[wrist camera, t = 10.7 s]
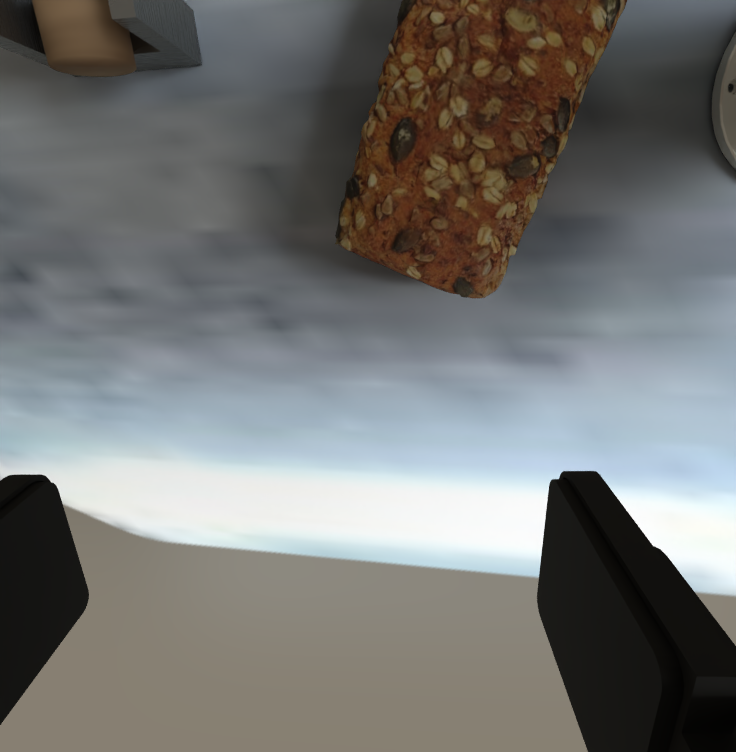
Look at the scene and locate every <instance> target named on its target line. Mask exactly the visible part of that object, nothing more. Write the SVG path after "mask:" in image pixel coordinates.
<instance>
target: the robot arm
mask: <svg viewBox="0 0 736 752" xmlns="http://www.w3.org/2000/svg"><path fill="white" fill-rule="evenodd" d="M728 86H729V91H728ZM712 121H713V127H714V133H715V136H716V139H717V141H718V144H719V146H720V149H721V151H722V153H723V154H724V156H725V157H726V159H727V160H728V161H729V163H730V164H731V165H732V166H733V167H734V168H735V169H736V32H735V34H734V36H733V37H732V39H731V41H730V43H729V45H728V47H727V48H726V50H725V52H724V55H723V57H722V60H721V63H720V66H719V68H718V71H717V74H716V78H715V84H714V89H713V94H712ZM88 599H89V592H88V588H87V584H86V581H85V577H84V574H83V571H82V567H81V564H80V561H79V557H78V554H77V551H76V547H75V544H74V541H73V538H72V534H71V531H70V528H69V524H68V521H67V518H66V514H65V511H64V508H63V504H62V501H61V498H60V494H59V491H58V488H57V486H56V485H55V484H54V483H51V482H50V480H49V479H48V478H47V477H46V476H44V475H9V476H7V477H5V478H3V479H2V480H1V481H0V725H1V723H2V722H3V721H4V719H5V718H6V717H7V715H8V714H9V712H10V711H11V710H12V708H13V707H14V706H15V704H16V703H17V702H18V700H19V699H20V698H21V696H22V695H23V693H24V692H25V690H26V689H27V688H28V687H29V685H30V684H31V683H32V681H33V680H34V678H35V677H36V676H37V674H38V673H39V672H40V670H41V669H42V668H43V666H44V665H45V664H46V662H47V661H48V660H49V658H50V657H51V656H52V654H53V653H54V651H55V650H56V649H57V647H58V646H59V645H60V643H61V642H62V641H63V639H64V638H65V637H66V635H67V634H68V632H69V631H70V630H71V628H72V627H73V626H74V624H75V623H76V622H77V620H78V619H79V618H80V616H81V615H82V613H83V612H84V610H85V609H86V606H87V603H88ZM537 603H538V609H539V614H540V617H541V620H542V623H543V626H544V628H545V631H546V634H547V637H548V640H549V642H550V646H551V648H552V651H553V654H554V657H555V660H556V662H557V665H558V668H559V671H560V674H561V677H562V679H563V682H564V685H565V688H566V690H567V693H568V696H569V699H570V702H571V705H572V708H573V711H574V713H575V716H576V719H577V722H578V725H579V727H580V730H581V733H582V736H583V739H584V742H585V744H586V747H587V750H588V752H736V646H735V644H734V643H733V642H732V641H731V639H730V638H729V637H728V635H727V634H726V633H725V631H724V630H723V629H722V628H721V626H720V625H719V624H718V622H717V621H716V620H715V618H714V617H713V616H712V614H711V613H710V612H709V611H708V609H707V608H706V607H705V605H704V604H703V603H702V601H701V600H700V599H699V597H698V596H697V595H696V593H695V592H694V591H693V590H692V588H691V587H690V586H689V584H688V583H687V582H686V580H685V579H684V578H683V576H682V575H681V574H680V573H679V571H678V570H677V569H676V567H675V566H674V565H673V563H672V562H671V561H670V559H669V558H668V557H667V556H666V555H665V554H664V553H663V552H662V551H661V550H660V549H659V548H656V547H654V546H653V545H652V544H651V543H650V541H649V540H648V539H647V537H646V536H645V535H644V533H643V532H642V531H641V529H640V528H639V527H638V525H637V524H636V523H635V521H634V520H633V519H632V517H631V516H630V515H629V513H628V512H627V511H626V509H625V508H624V507H623V505H622V504H621V503H620V501H619V500H618V499H617V497H616V496H615V495H614V493H613V492H612V491H611V489H610V488H609V486H608V485H607V484H606V482H605V481H604V480H603V478H602V477H601V476H600V475H599V474H598V473H597V472H595V471H563V472H562V473H561V475H560V478H559V479H553V480H551V482H550V485H549V493H548V502H547V511H546V520H545V529H544V538H543V547H542V556H541V565H540V574H539V583H538V592H537Z"/></svg>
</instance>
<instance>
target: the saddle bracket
mask: <svg viewBox="0 0 736 752" xmlns="http://www.w3.org/2000/svg"><path fill="white" fill-rule="evenodd" d="M108 3H109V8H110V12H111V17H112V20H114V21H115V22H117V23H118V24H120V25H121V26H123V27H124V28H126V29H127V30H129V33H130V38H131V43H132V48H133V53H134V58H135V63H136V70H135V71H143V70H154V69H165V68H176V67H187V66H198V65H202V62H201V56H200V50H199V44H198V37H197V31H196V25H195V19H194V13H193V10H192V9H191V8H190V7H189V6H188V5H187V4H186V3H185V2H184V1H183V0H108ZM0 47H2V48H4V49H7V50H10V51H12V52H15V53H17V54H20V55H22V56H25V57H27V58H30V59H32V60H35V61H37V62H40V63H42V64H45V65H47V66H49V65H48V62H47V58H46V54H45V50H44V46H43V42H42V38H41V34H40V30H39V26H38V22H37V18H36V14H35V10H34V7H33V3H32V0H0ZM70 75H73V74H70ZM73 76H75V77H77V76H80V75H73Z"/></svg>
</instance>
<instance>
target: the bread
mask: <svg viewBox="0 0 736 752" xmlns="http://www.w3.org/2000/svg"><path fill="white" fill-rule="evenodd" d="M626 2H627V0H403V1H402V3H401V7H400V10H399V14H398V25H397V29H396V32H395V34H394V37H393V39H392V40H391V42H390V43H389V47H388V49H389V54H388V56H387V58H386V59H385V61H384V63H383V69H382V73H381V75H380V78H379V81H378V87H379V94H378V96H377V101H376V102H375V103H374V104H373V105H372V107H371V109H370V111H369V119H368V121H367V122H366V123H365V124H364V126H363V128H362V131H361V135H362V137H361V141H360V145H359V150H358V153H357V155H356V160H355V167H354V172H353V175H352V177H351V178H350V179H349V180H348V181H347V184H346V192H345V198H344V200H343V201H342V202H341V207H340V212H339V222H338V227H337V231H336V238H337V240H336V243H335V244H339V245H340V246H342V247H343V248H344V249H346V250H349V251H351V252H354V253H356V254H358V255H360V256H362V257H365V258H368V259H370V260H371V261H374V262H377V263H380V264H382V265H384V266H386V267H388V268H390V269H392V270H394V271H397V272H399V273H401V274H403V275H405V276H408V277H411V278H414V279H416V280H419V281H422V282H424V283H426V284H428V285H430V286H432V287H435V288H437V289H440V290H443V291H445V292H449V293H453V294H459V295H460V296H461V297H470V298H485V297H486V296H488V295H489V294H491V293H493V292H494V291H496V289H497V288H498V287H499V285H500V284H501V282H502V280H503V277H504V275H505V273H506V269H507V266H508V261H509V257H510V256H511V255H515V253H516V249H517V246H518V243H519V241H520V239H521V236H522V234H523V231H524V230H525V228H526V227H527V225H528V223H529V222H530V220H531V218H532V216H533V214H534V212H535V209H536V207H537V200H538V199H540V198H542V195H543V192H544V190H545V187H546V184H547V182H548V174H549V173H550V172H551V171H552V170H553V168H554V166H555V165H556V163H557V158H558V156H559V155H560V153H561V152H562V151H563V149H564V148H565V145H566V142H567V139H568V131H569V130H570V129H571V128H572V124H573V121H574V117H575V114H576V111H577V109H578V107H579V105H580V103H581V101H582V98H583V95H584V92H585V89H586V86H587V83H588V81H589V78H590V76H591V75H592V73H593V71H594V70H595V68H596V65H597V63H598V61H599V59H600V58H601V56H602V54H603V52H604V50H605V48H606V46H607V44H608V42H609V40H610V38H611V35H612V33H613V30H614V28H615V26H616V23H617V21H618V18H619V17H620V15H621V13H622V12H623V10H624V8H625V5H626Z"/></svg>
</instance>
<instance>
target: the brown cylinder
mask: <svg viewBox="0 0 736 752" xmlns="http://www.w3.org/2000/svg"><path fill="white" fill-rule="evenodd" d="M32 3H33V7H34V10H35V14H36V18H37V22H38V26H39V30H40V34H41V38H42V42H43V46H44V50H45V54H46V58H47V62H48V65H49V67H51V68H52V69H54V70H57V71H59V72H63V73H67V74H73V75H80V76H91V77H110V76H120V75H126V74H129V73H132V72H134V71H135V70H136V63H135V58H134V53H133V48H132V43H131V38H130V33H129V30H127V29H126V28H124V27H123V26H121V25H120V24H118V23H117V22H115V21H114V20H112V17H111V12H110V8H109V3H108V0H32Z"/></svg>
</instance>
